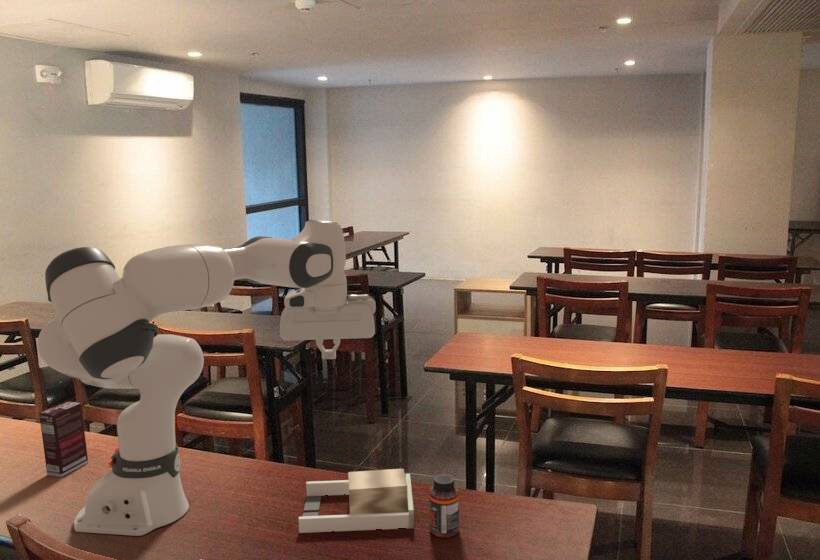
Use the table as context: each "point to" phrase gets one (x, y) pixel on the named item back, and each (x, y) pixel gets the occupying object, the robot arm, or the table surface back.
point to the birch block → (378, 491)
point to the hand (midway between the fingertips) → (329, 358)
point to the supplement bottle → (444, 507)
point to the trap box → (351, 521)
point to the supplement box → (63, 438)
